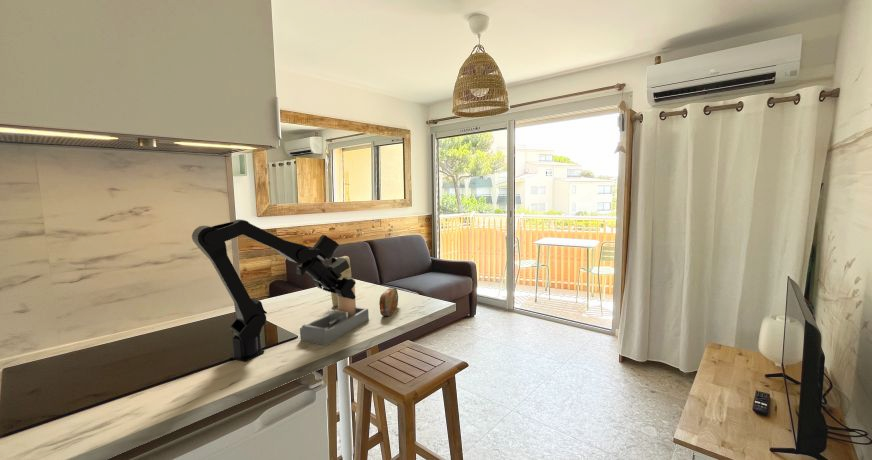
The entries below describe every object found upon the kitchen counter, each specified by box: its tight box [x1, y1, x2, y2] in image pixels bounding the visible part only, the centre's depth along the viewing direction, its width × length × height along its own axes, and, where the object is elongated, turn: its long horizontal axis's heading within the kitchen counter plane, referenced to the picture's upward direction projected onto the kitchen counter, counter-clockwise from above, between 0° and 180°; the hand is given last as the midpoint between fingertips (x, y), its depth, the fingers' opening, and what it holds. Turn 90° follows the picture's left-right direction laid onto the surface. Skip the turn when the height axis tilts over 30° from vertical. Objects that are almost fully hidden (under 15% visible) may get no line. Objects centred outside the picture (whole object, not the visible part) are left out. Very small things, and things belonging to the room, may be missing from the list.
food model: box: [330, 255, 353, 307], centre depth 147 cm, size 10×7×20 cm
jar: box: [337, 278, 357, 318], centre depth 127 cm, size 6×6×13 cm
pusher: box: [327, 309, 348, 326], centre depth 121 cm, size 5×7×5 cm
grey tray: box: [299, 306, 370, 346], centre depth 122 cm, size 23×10×5 cm, turn 157°
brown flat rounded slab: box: [379, 287, 399, 317], centre depth 138 cm, size 15×3×8 cm, turn 168°
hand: (349, 296), depth 128 cm, fingers closed on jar, 6 cm apart
